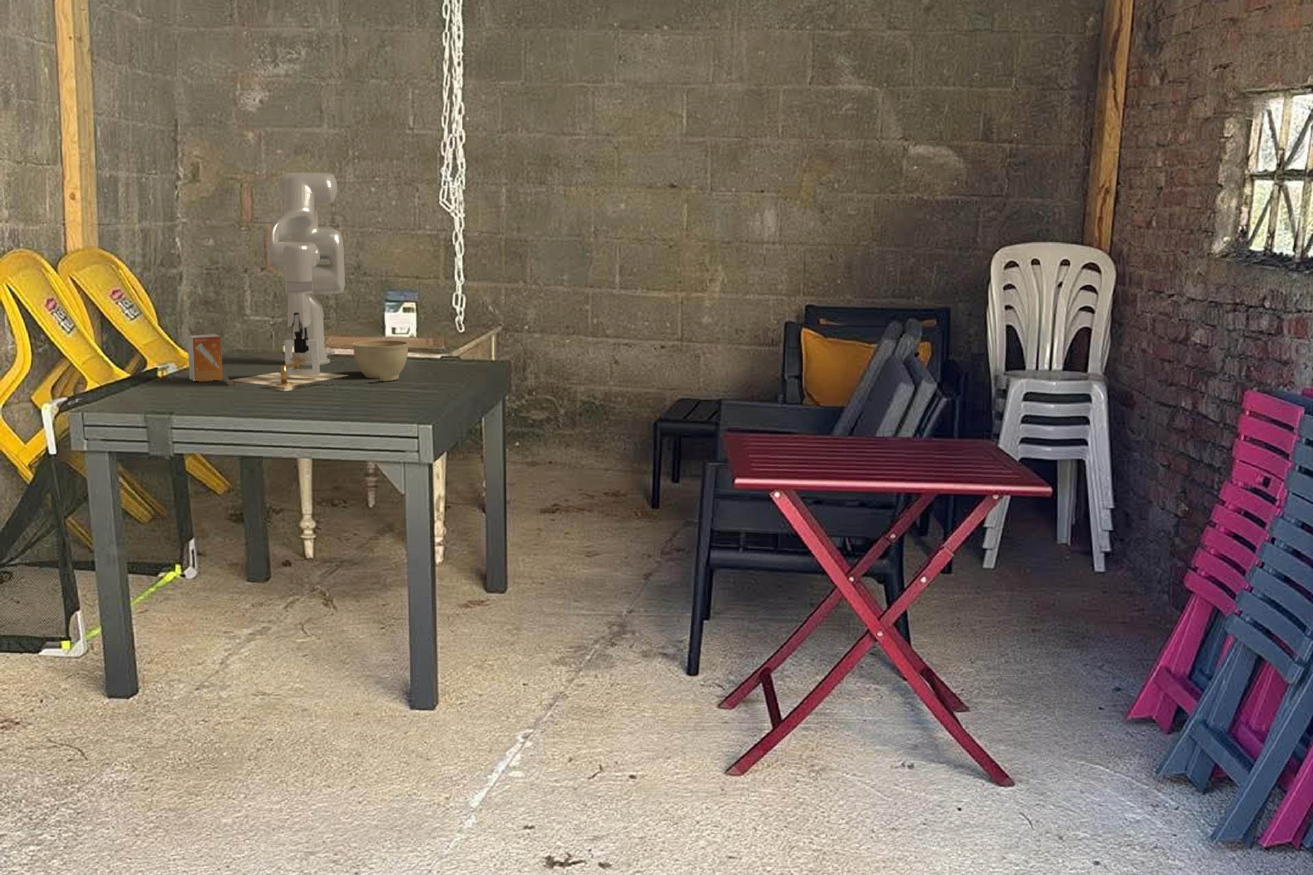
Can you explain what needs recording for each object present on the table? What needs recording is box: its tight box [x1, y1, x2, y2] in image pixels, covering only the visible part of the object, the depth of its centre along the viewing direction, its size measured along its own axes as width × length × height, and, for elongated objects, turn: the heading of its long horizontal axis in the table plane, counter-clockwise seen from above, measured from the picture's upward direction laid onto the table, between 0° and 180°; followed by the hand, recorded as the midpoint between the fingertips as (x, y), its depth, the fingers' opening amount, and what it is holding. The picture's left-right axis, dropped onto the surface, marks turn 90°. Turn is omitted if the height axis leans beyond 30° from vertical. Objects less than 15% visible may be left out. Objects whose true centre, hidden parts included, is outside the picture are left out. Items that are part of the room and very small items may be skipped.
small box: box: [186, 333, 224, 382], centre depth 372 cm, size 8×6×13 cm
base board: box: [227, 371, 350, 392], centre depth 371 cm, size 26×22×1 cm
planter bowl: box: [352, 339, 410, 382], centre depth 376 cm, size 16×16×11 cm
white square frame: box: [283, 338, 321, 375], centre depth 368 cm, size 3×9×10 cm, turn 94°
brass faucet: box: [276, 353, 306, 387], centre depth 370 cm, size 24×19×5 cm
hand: (301, 351), depth 368 cm, fingers closed on white square frame, 3 cm apart
